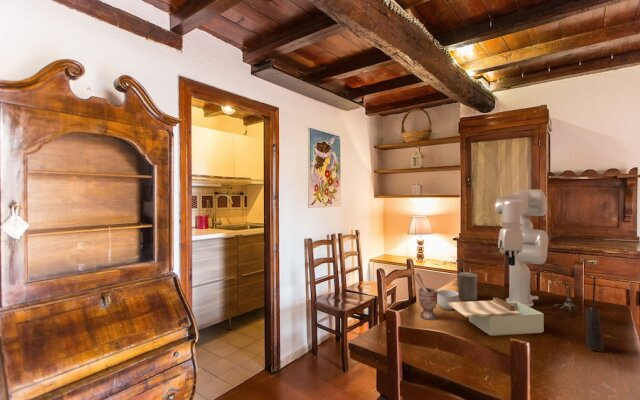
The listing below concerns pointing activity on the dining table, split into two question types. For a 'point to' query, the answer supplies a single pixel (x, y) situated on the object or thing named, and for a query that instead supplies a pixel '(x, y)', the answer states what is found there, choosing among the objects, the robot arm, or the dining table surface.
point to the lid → (484, 308)
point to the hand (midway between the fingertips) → (511, 264)
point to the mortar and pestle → (426, 299)
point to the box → (511, 322)
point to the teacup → (447, 298)
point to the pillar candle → (467, 286)
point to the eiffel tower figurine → (568, 301)
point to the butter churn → (593, 327)
